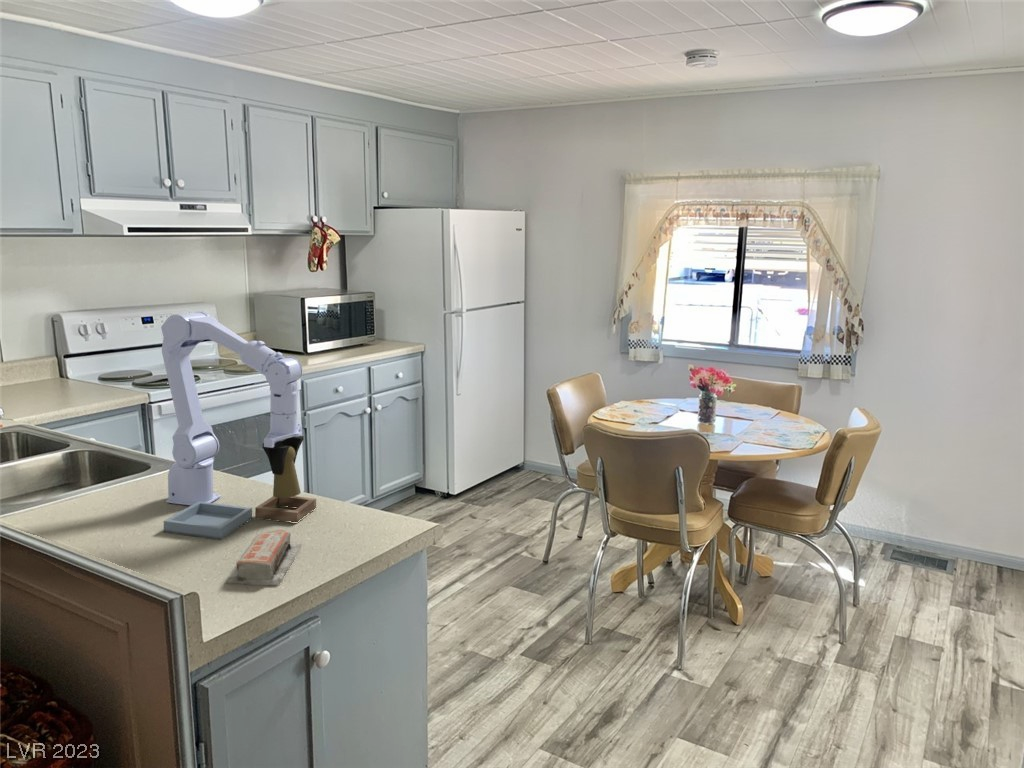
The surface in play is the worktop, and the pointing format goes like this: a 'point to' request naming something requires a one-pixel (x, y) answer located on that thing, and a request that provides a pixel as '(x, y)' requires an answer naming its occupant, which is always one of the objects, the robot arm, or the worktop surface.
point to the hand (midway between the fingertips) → (283, 470)
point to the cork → (287, 478)
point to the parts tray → (208, 520)
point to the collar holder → (271, 512)
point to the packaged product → (265, 560)
